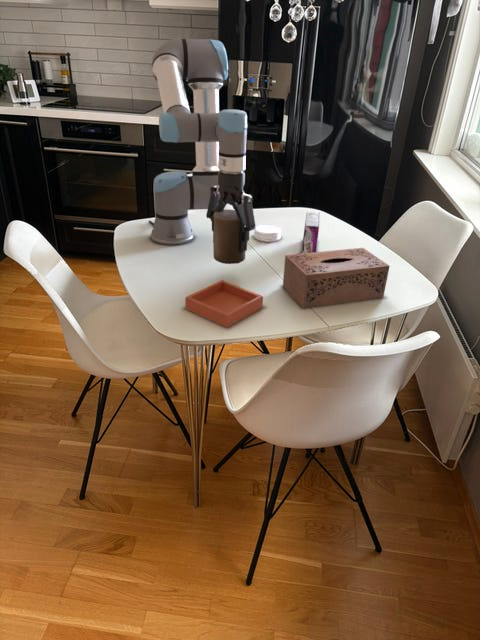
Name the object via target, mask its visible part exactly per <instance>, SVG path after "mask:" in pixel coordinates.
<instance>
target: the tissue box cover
mask: <svg viewBox="0 0 480 640" xmlns="http://www.w3.org/2000/svg"><path fill="white" fill-rule="evenodd" d="M284 257H285V258H284V266H283V279H282V287H283V288H284V289H285V291H286V292H287V293H288V294H289V295H290V296H291V297H292V299H294V300H295V301H296V302H297V304H298V305H299V306H300V307H301V308H302V309H307V308H315V307H322V306H323V307H324V306H330V305H338V304H346V303H352V302H361V301H368V300H375V299H382V298H384V296H385V291H386V287H387V281H388V277H389V276H388V275H389V271H390V265H389V264H388V263H386V262H385V261H384V260H382V259H381V258H379V257H378V256H376V255H375V254H373V253H371V252H370V251H369V250H368V249H366V248H364V247H355V248H346V249H335V250H324V251H316V252H314V253H304V254H302V253H295V254H285V256H284Z"/></svg>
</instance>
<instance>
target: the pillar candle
mask: <svg viewBox="0 0 480 640" xmlns="http://www.w3.org/2000/svg"><path fill="white" fill-rule="evenodd" d="M245 227H246V226H245ZM241 230H242V228H241V225H240V219H239V218H238V217H237V214H236V211H235V209H224V210H223V211H220V212H215V213H214V243H213V246H212V247H213V260H215V261H216V262H217V263H220V264H225V265H233V264H234V265H236V264H240V263H242V262H244V261H245V260H246V251H244V252H242V253H240V252H239V239H240V231H241Z"/></svg>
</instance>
